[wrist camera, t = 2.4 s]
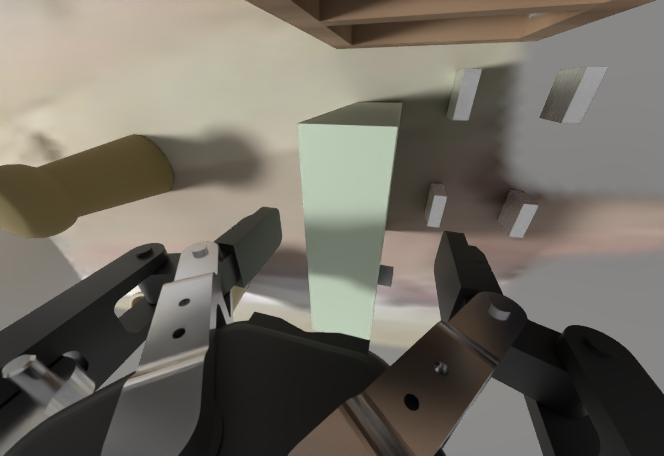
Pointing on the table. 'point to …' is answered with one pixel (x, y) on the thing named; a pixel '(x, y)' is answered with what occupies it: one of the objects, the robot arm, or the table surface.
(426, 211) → the small rectangular blocks
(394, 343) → the table surface
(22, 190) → the cork
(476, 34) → the brown wooden box
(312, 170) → the door panel
